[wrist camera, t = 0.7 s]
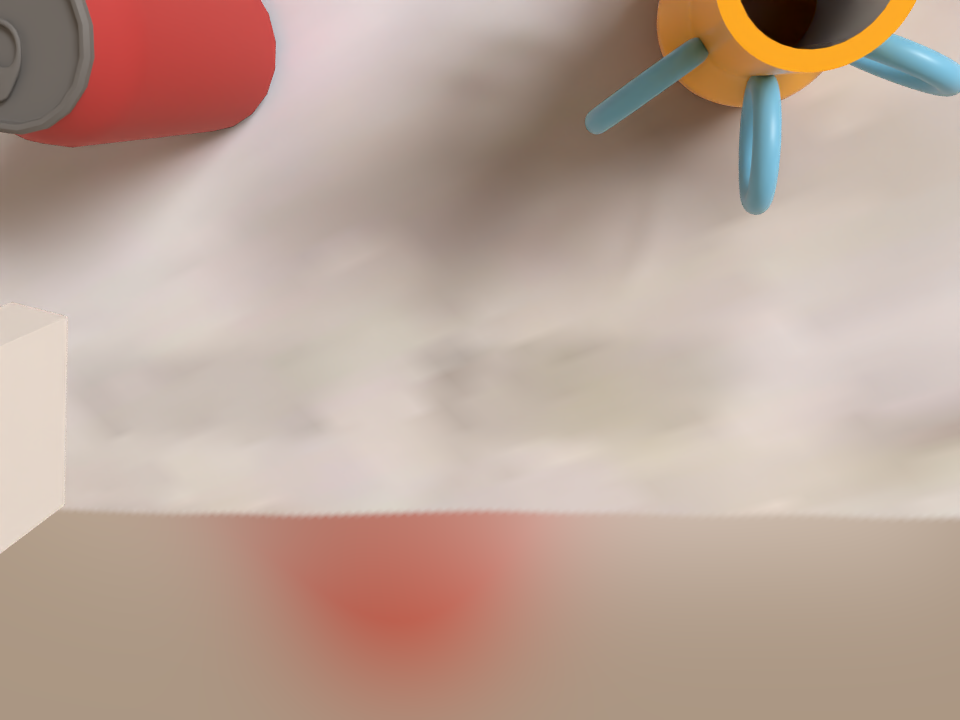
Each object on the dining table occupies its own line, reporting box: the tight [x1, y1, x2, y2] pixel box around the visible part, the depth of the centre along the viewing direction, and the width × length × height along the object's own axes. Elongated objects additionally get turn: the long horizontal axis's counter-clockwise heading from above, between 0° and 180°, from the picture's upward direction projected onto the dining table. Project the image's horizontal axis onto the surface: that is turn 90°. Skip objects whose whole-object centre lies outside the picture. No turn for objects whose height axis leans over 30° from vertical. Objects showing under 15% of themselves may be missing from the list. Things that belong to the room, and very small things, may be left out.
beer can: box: [0, 0, 276, 147], centre depth 29 cm, size 7×7×12 cm
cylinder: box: [585, 0, 960, 215], centre depth 24 cm, size 12×10×15 cm
